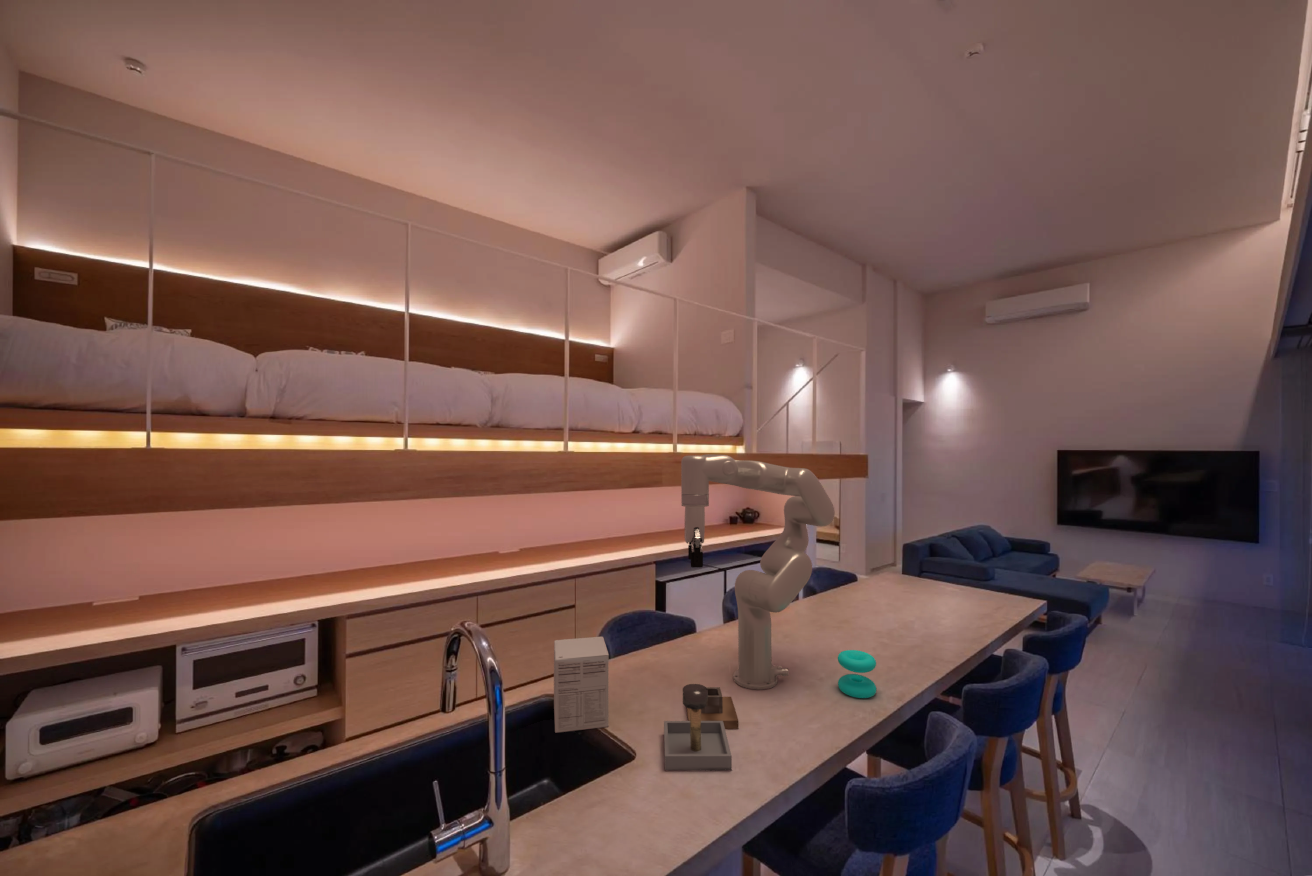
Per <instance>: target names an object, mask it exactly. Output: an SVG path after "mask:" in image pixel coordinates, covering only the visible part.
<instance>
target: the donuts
mask: <svg viewBox="0 0 1312 876" xmlns="http://www.w3.org/2000/svg"><path fill="white" fill-rule="evenodd" d="M837 662H838V663H839V665H840V666H841V667H842V668H843V669H845V670H847V671H849V672H852V673H847V674H844V675H842V676H840V677H839V678H838V680H837V686H838V688H839V691H841V692H842V693H843V694H845V695H847V696H849V697H852V698H856V699H868V698H872V697H873V696H875V695H876V693H877V685H876V683H875V682H874V681H873V680H872V679H870V678H869V677H866V676H864V675H862V674H864V673H870V672H871V671H874V669H875V668H876V667H877V661H876V658H875V657H874V656H873V655H871V654H870V653H868V652H865V651H862V650H857V649H847V650H843V651H841V652H839V653H838V655H837ZM856 673H857V674H856ZM858 673H859V674H858Z"/></svg>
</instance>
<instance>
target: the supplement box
mask: <svg viewBox="0 0 1312 876" xmlns="http://www.w3.org/2000/svg"><path fill="white" fill-rule="evenodd" d="M553 645H554V646H553V648H554V649H553V709H554V710H553V713H554V715H553V716H554V732H555V733H557V734H558V733H564V732H565V733H566V732H575V731H582V730H583V731H584V730H590V729H598V728H599V729H600V728H608V727H609V661H610V660H609V657H610V654H609V651H608V648H607V645H606V642H605V639H604V636H594V637H593V636H591V637H581V638H580V637H578V638H568V639H567V638H566V639H554V641H553Z"/></svg>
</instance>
